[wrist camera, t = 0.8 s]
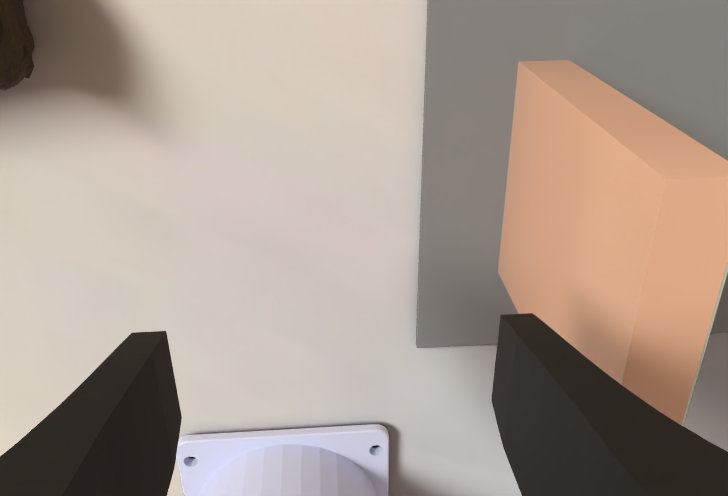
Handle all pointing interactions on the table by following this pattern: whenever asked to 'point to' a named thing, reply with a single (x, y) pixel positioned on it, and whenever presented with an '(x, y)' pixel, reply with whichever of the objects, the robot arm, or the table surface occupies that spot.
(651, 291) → the tile
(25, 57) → the hand tool
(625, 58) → the mat
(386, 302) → the table surface
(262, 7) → the table surface
